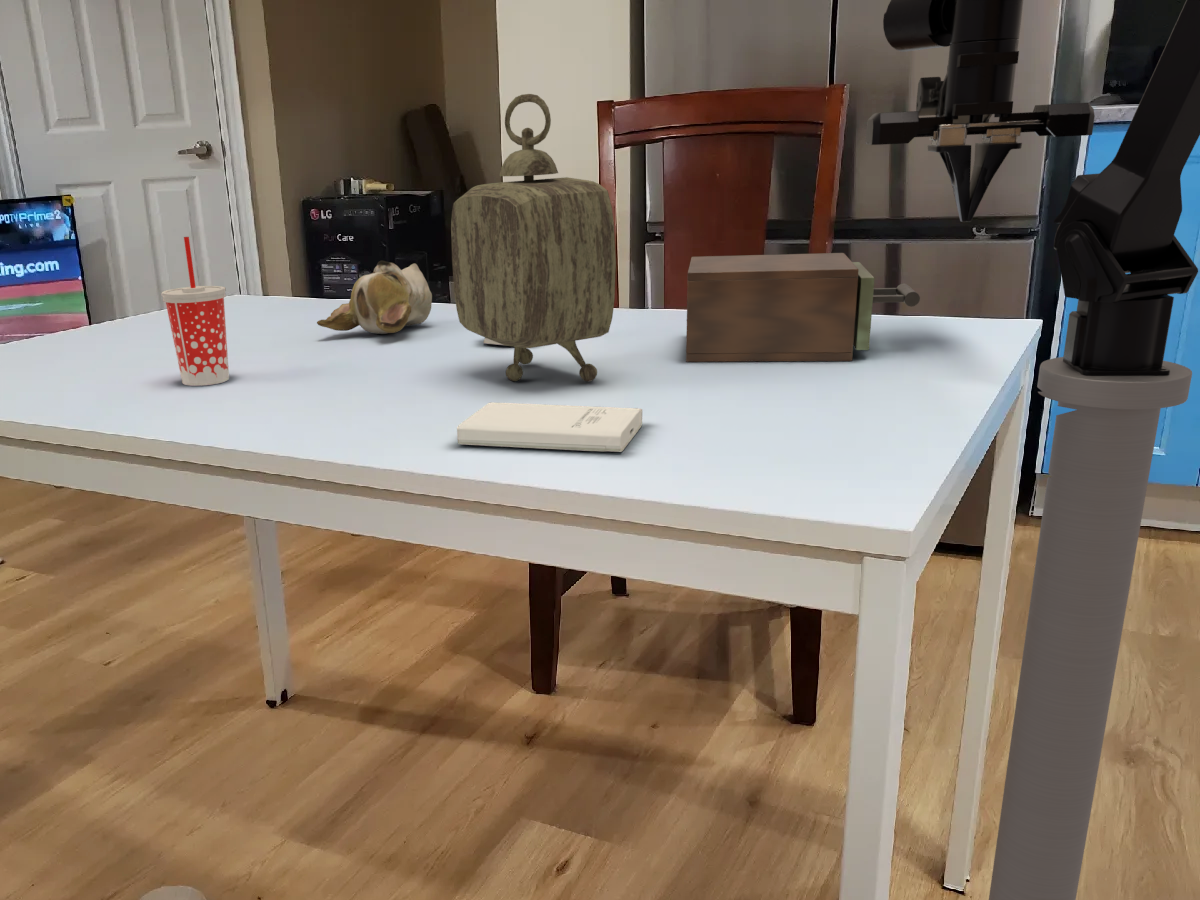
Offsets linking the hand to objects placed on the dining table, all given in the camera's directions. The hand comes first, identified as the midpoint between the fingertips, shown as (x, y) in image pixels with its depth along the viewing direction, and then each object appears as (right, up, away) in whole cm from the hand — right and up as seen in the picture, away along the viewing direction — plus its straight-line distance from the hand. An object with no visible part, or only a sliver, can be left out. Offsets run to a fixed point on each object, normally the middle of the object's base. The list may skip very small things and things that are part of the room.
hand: (965, 221), depth 104 cm
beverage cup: (-74, -15, +6) cm, 76 cm away
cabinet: (-17, -11, +8) cm, 22 cm away
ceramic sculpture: (-58, -5, +28) cm, 64 cm away
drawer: (-13, -10, +7) cm, 18 cm away
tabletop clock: (-41, -15, 0) cm, 44 cm away
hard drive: (-41, -23, -20) cm, 51 cm away
